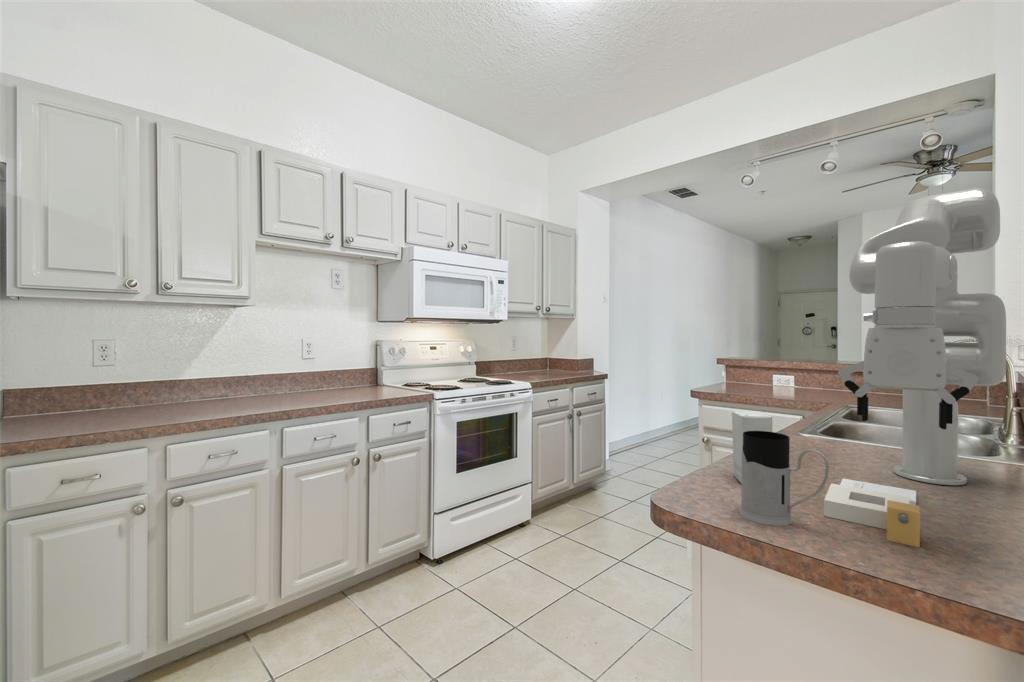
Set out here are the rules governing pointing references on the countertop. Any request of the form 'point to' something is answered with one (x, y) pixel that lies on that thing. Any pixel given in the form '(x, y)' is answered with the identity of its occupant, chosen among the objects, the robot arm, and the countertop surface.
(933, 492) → the countertop surface
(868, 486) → the external hard drive
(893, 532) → the plug
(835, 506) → the socket
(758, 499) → the glass holder
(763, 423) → the skincare box
